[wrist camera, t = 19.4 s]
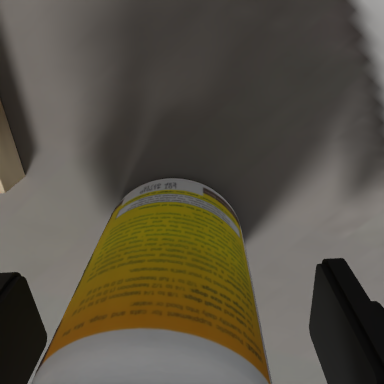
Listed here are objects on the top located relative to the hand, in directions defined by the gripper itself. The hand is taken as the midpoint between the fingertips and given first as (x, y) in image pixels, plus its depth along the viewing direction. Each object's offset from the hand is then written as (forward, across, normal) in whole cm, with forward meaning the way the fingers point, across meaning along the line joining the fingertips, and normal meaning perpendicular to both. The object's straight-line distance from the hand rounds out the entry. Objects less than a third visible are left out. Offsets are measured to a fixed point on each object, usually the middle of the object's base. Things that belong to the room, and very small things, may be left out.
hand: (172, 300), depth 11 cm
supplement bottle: (+4, 0, 0) cm, 4 cm away
